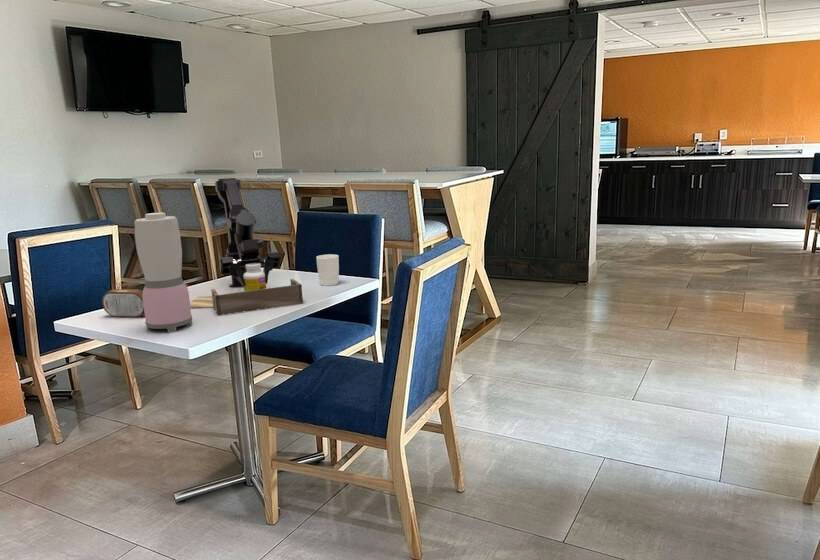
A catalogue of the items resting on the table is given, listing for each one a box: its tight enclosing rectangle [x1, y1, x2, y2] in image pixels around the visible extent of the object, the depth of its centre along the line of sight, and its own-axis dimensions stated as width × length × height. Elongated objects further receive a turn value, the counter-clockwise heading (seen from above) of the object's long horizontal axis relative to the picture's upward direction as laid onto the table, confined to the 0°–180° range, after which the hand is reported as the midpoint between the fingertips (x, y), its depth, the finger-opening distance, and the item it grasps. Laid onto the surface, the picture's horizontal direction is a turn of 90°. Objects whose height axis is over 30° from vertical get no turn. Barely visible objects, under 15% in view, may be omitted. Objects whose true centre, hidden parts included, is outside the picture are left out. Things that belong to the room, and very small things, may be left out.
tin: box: [101, 288, 145, 318], centre depth 188 cm, size 15×3×8 cm, turn 78°
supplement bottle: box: [243, 263, 267, 291], centre depth 196 cm, size 7×7×13 cm
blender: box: [133, 212, 193, 333], centre depth 173 cm, size 16×12×32 cm
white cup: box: [315, 253, 340, 287], centre depth 221 cm, size 8×8×10 cm
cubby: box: [211, 278, 304, 316], centre depth 194 cm, size 10×26×6 cm, turn 114°
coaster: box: [190, 295, 213, 309], centre depth 201 cm, size 14×14×1 cm
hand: (255, 284), depth 194 cm, fingers closed on supplement bottle, 7 cm apart
